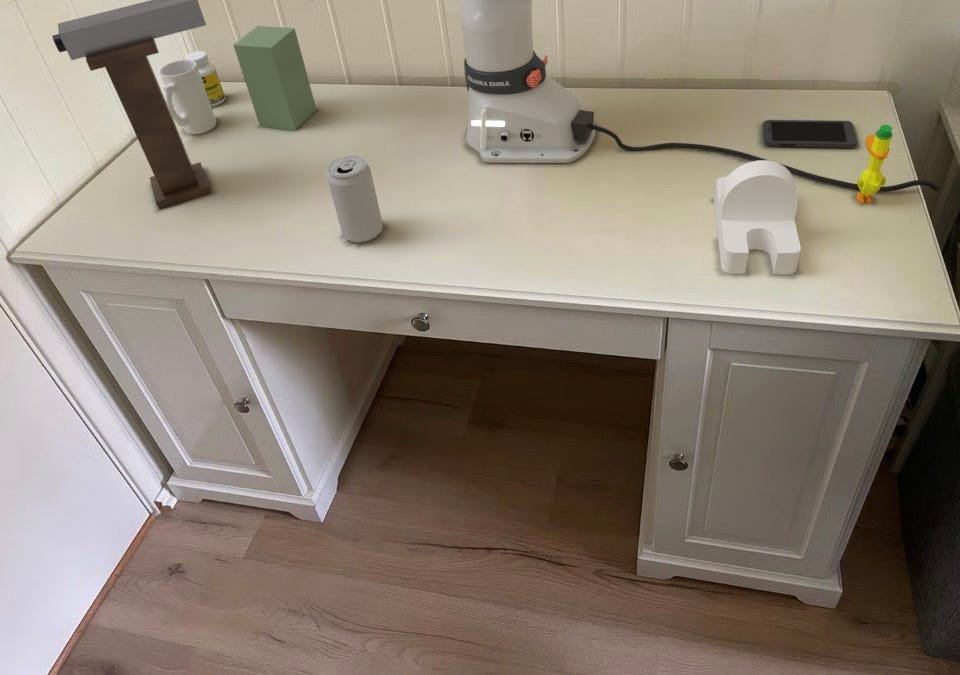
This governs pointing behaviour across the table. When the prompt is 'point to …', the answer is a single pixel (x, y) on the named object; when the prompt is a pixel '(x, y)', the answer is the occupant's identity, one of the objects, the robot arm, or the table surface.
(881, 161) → the toy figure
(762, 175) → the white notched rounded piece
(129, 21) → the gray rectangular bar
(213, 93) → the supplement bottle
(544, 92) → the robot arm
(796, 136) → the cell phone
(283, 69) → the block
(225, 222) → the table surface
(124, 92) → the stand
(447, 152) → the table surface
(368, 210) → the beverage can
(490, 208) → the table surface
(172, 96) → the mug
